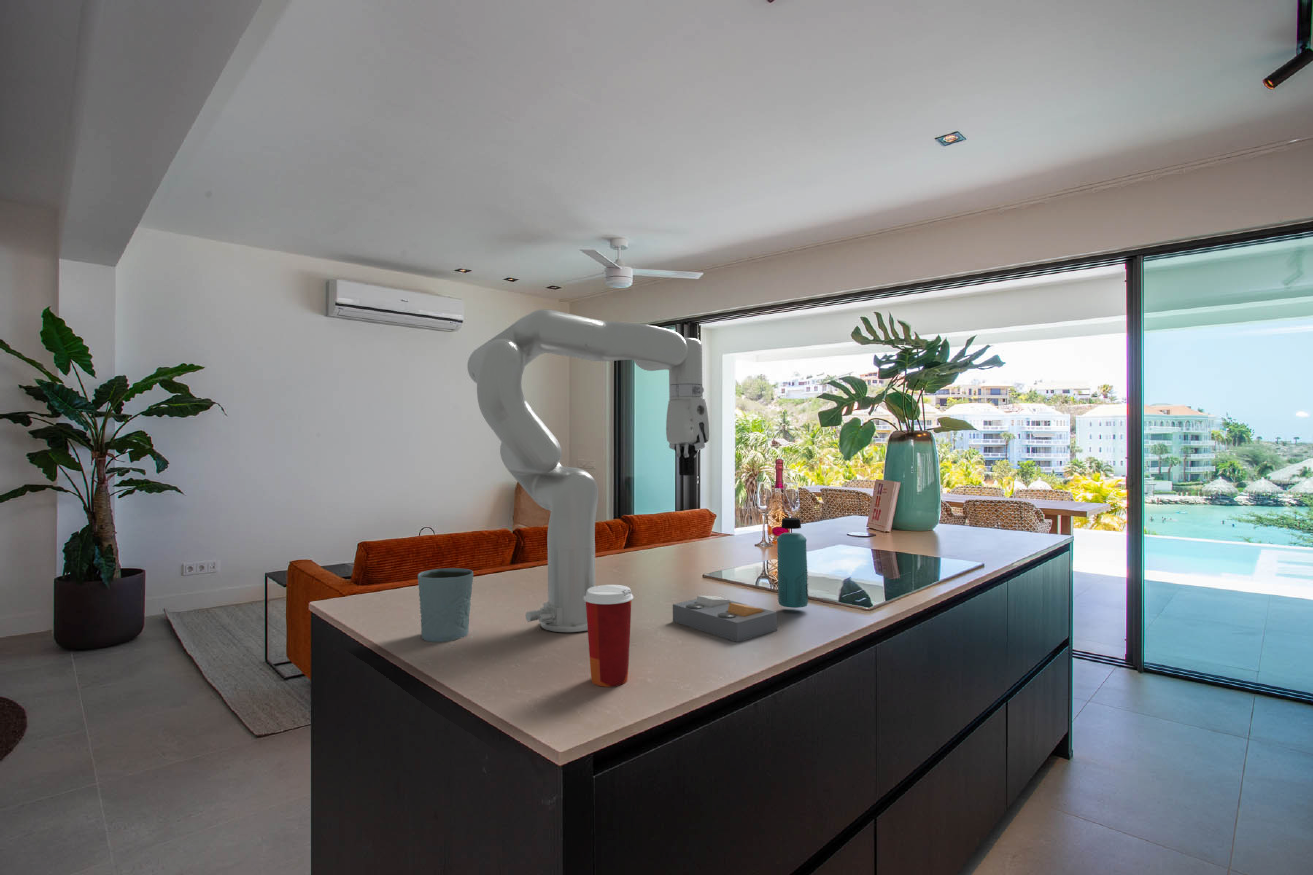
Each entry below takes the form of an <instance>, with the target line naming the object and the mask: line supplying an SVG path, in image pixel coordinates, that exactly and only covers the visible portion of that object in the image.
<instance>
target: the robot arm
mask: <svg viewBox="0 0 1313 875" xmlns="http://www.w3.org/2000/svg"><path fill="white" fill-rule="evenodd" d="M542 354H552V355H556V356H557V355H559V356H565V357H570V358H575V359H576V358H577V359H581V360H586V361H590V362H591V361H592V362H614V361H625V360H630V361H633V362H634V363H635V365H636V366H637V367H639V369H642V370H644V371H647V372H648V371H649V372H653V371H664V370H665V371H668V383H669V384H668V387H669V388H668V390H669V392H668V394H669V396H668V399H669V400H668V402H667V403H668V404H667V412H666V422H665V424H666V425H665V426H666V427H665V431H666V433H665V434H666V441H667V443H669V445H668V448H669V449H671V450H673V451H675V453H676V457H677V458H678V471H679V472H678V474H679V476H685V477H686V476H694V475H695V458H696V457H697V455H698V451H701V450H703V449H705V447H706V445H705V444H707V443H708V442H709V441H710V422H709V414H708V413H709V412H708V407H707V402H706V399H705V398H703V397H704V396H703V394H704V392H705V389H704V387H703V345H702V342H701V340H700V339H697V338H695V337H684V336H682V335H681V334H680V333H679V332H676V331H675V330H672V329H668V328H663V327H659V326H656V325H651V324H642V323H641V324H640V323H634V322H633V323H631V322H629V323H628V322H620V321H613V320H612V321H609V320H600V319H596V318H591V317H585V316H581V315H577V314H572V313H567V312H564V311H563V312H562V311H558V310H554V309H553V310H552V309H537V310H534V311H532V312H530V313H528V314H526V315H524V316H523V317H521V318H518V319H517V321H514V323H512V324H511V325H509V327H507V328H505V329H504V330H502V331H501V332H499V333H498V334H497V335H495V336H494V337H491V338H490V339H489V340H488V341H486V342H485V343H483V344H482V345H480V346H479V347H477V348H476V349H474V350H473V352H472V353H471V354H470V356H469V357H468V361H467V365H466V367H467V373H468V375H469V377H470V379H471V380H472V381H473V382H474V383H475V384H476V395H477V403H478V407H479V410H480V413H481V415H482V416H483V419H485V420H484V421H485V422H486V423H487V424H488V426H489V427H490V429H491V430H492V431H493V432H494V434H495V435H496V437H497V438H498V439H499V441H501V442H500V446H499V449H500V450H499V452H500V453H499V454H500V458H501V461H502V463H503V465H504V466H505V468H506V469H507V471H508V472H509V473H510V475H511V476H512V477H513V478H514V479H515V480H516V482H518V484H519V485H520V486H521V488H522V489H524V491H525V492H526V493H527V494H528V495H529V496H530V498H531V499H532V500H533V501H534V502H535V503H536V504H537V505H538V506H540V507H541V508H543V509H544V510H547V511H550V515H549V519H548V526H547V538H546V539H547V542H546V543H547V547H546V548H547V602H543V605H542V607H540V608H539V609H538V610H537V609H536V610H530V611H527V612H526V613H525V620H526V622H528V623H529V622H533V621H537V620H538V622H539V623H540V627H541V628H542V629H544V630H545V631H550V632H554V633H555V632H556V633H557V632H558V633H577V632H578V633H579V632H586V631H587V632H588V627H587V612H586V601H585V600H584V596H586V592H587V590H588V589H589V588H591V587H594V586H596V540H595V538H596V537H595V535H596V534H595V533H596V517H597V510H598V505H599V488H598V484H597V482H596V479H595V478H594V477H593V476H592V475H591V473H589V472H587V470H585V469H582V468H578V467H572V466H570V467H569V466H563V465H562V464H561V459H562V447H561V445H560V441H558V439H557V437H556V436H555V435H554V434H553V433H552V431H551V430H550V429H549V428H548V427H547V425H546V424H545V422H543V421H542V419H541V417H539V416H538V414H537V413H536V412H535V410H534V409H533V408H532V407H531V405H530V404H529V402H528V401H527V399H526V397H525V394H524V393H523V388H522V380H523V379H522V378H523V374H524V370H525V366H527V365H528V364H530V363H531V362H532V361H533V360H535V359H536V358H537V357H539V356H540V355H542Z"/></svg>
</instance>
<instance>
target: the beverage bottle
mask: <svg viewBox="0 0 1313 875" xmlns="http://www.w3.org/2000/svg"><path fill="white" fill-rule="evenodd" d="M781 528H782V529H785V530H786V529H787V530H798V529H802V525H801V518H798V517H783V518H782V519H781ZM776 544H777V545H776V546H777V547H776V548H777V551H776V552H777V554H776V555H777V572H776V575H777V578H776V579H777V584H776V585H777V590H776V591H777V592H776V593H777V601H778V605H779V606H781V607H786V608H790V609H791V608H794V609H795V608H796V609H797V608H798V609H799V608H804V607H805V608H806V607H807V606H808V603H809V583H808V580H809V577H808V576H809V570H808V558H807V557H808V556H807V553H808V552H807V538H806V536H804V534H802V533H798V532H783V533H781V534H780V535H778V536H777V538H776Z"/></svg>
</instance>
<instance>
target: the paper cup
mask: <svg viewBox="0 0 1313 875" xmlns="http://www.w3.org/2000/svg"><path fill="white" fill-rule="evenodd" d="M633 599H634V595H633V594H632V591H631V588H630V587H629V586H626V585H621V584H601V585H600V584H599V585H595V586H594V587H591V588H589V589H588V590H587V592H586V596H584V600H585V601H586V612H587V627H588V630H587V640H588V642H587V643H588V651H589V652H588V653H589V667H590V669H589V670H590V678H591V683H592V684H593V685H594V686H598V687H603V688H605V687H606V688H611V687H612V688H614V687H618V686H622V685H624V684H626V683H627V682H628V677H629V664H630V643H631V640H630V639H631V621H632V620H631V619H632V600H633Z"/></svg>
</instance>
